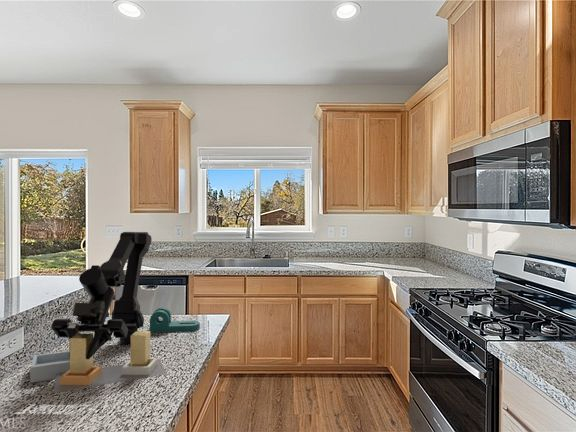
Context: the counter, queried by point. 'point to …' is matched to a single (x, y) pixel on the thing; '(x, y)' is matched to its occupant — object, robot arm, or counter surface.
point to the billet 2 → (140, 348)
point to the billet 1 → (80, 355)
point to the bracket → (170, 322)
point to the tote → (49, 366)
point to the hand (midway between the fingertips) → (79, 358)
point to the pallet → (108, 375)
